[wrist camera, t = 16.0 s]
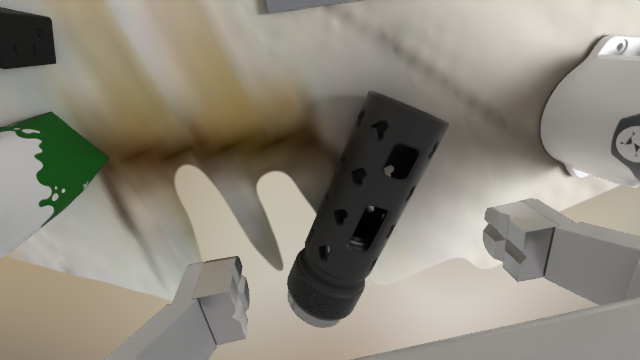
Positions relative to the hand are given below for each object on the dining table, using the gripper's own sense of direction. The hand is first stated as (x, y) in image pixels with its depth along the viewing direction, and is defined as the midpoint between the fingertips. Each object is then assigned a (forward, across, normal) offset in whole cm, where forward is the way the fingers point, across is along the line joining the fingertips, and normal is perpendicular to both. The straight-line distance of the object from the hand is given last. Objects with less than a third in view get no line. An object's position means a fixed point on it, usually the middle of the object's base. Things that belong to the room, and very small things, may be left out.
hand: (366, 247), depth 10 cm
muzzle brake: (+29, -4, +14) cm, 33 cm away
